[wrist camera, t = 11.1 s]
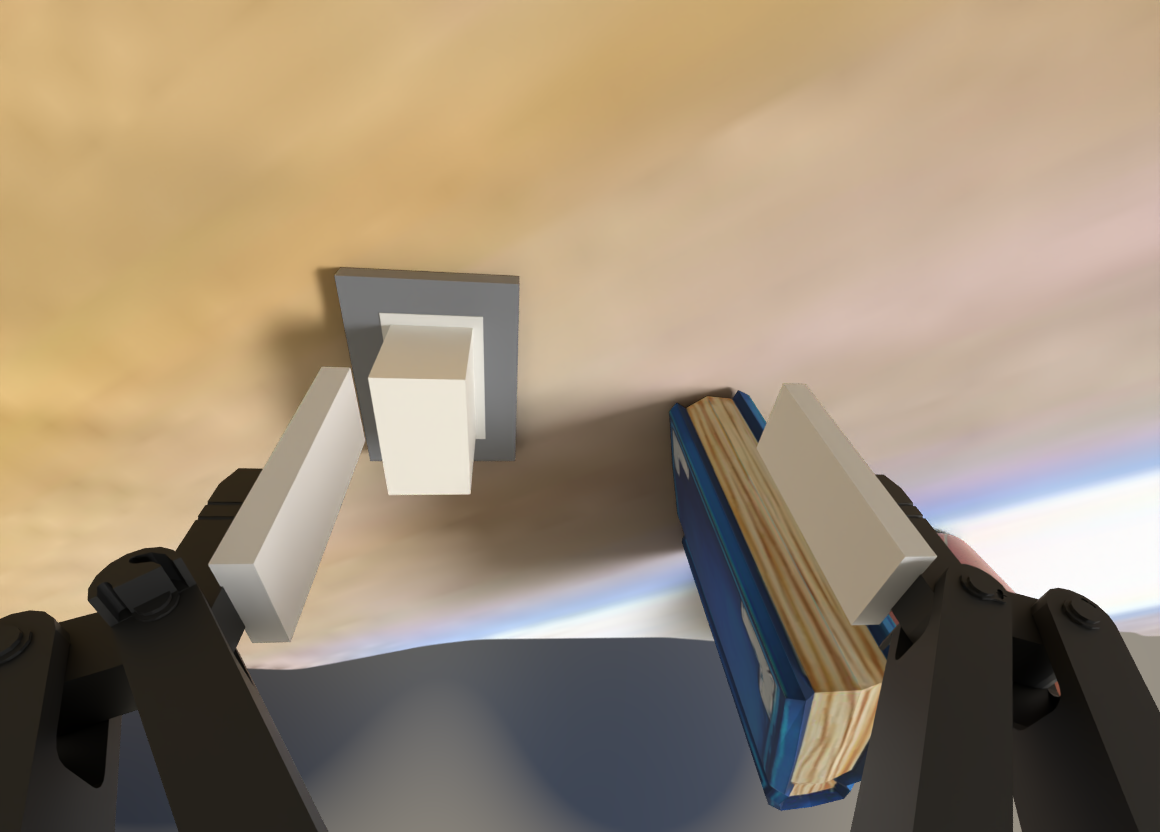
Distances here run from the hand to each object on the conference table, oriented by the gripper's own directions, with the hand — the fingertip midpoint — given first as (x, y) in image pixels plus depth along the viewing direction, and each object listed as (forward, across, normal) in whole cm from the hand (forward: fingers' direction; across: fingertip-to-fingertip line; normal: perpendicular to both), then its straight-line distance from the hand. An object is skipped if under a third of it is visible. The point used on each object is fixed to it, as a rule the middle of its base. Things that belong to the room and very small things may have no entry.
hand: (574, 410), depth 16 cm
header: (+22, -8, -13) cm, 27 cm away
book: (+22, +17, -25) cm, 38 cm away
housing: (+20, -8, -13) cm, 25 cm away
